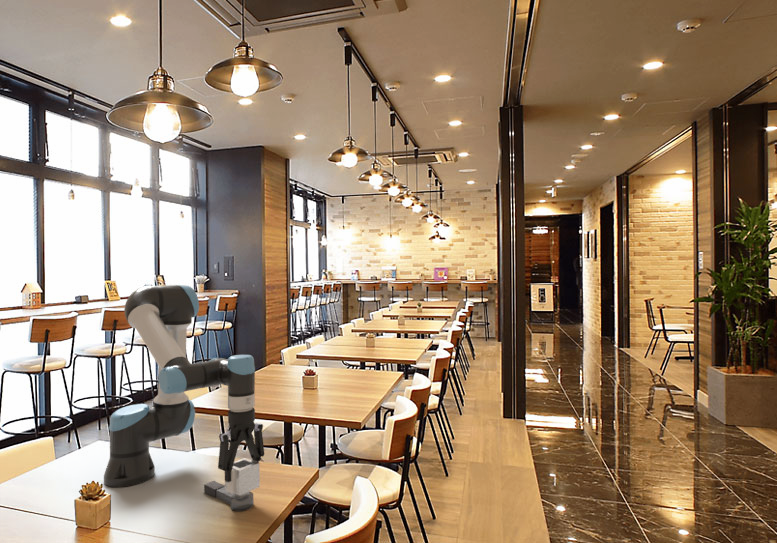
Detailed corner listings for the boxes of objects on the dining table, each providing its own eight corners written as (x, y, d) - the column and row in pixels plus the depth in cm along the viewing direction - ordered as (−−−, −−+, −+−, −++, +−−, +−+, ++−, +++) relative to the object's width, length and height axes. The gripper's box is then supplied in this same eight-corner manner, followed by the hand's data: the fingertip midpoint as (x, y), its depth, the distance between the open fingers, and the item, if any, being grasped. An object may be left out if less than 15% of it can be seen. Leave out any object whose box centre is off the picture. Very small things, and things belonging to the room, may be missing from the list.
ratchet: (199, 494, 149) (199, 466, 149) (218, 487, 154) (217, 460, 154) (239, 513, 137) (239, 483, 137) (257, 505, 142) (257, 476, 142)
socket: (224, 489, 141) (224, 465, 141) (245, 480, 146) (244, 457, 146) (239, 495, 136) (239, 470, 137) (259, 486, 142) (259, 462, 142)
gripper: (219, 418, 131) (219, 503, 131) (276, 403, 147) (277, 478, 147) (203, 414, 136) (204, 496, 136) (261, 399, 152) (261, 472, 152)
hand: (242, 487), depth 141 cm, fingers closed on socket, 7 cm apart
